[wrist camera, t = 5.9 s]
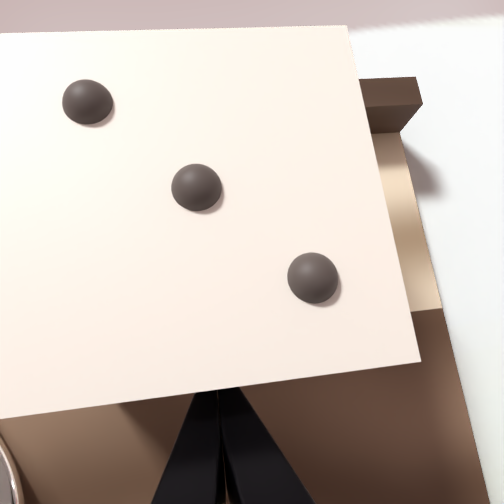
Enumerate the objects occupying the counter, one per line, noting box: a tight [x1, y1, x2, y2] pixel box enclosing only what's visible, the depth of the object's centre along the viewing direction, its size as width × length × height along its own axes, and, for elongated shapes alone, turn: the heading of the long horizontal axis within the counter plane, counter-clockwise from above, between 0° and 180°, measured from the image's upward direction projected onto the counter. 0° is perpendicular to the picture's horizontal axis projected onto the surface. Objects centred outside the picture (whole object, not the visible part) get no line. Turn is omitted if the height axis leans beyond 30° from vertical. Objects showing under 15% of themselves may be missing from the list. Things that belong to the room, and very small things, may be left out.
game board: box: [0, 77, 490, 504], centre depth 14 cm, size 20×18×3 cm
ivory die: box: [0, 25, 421, 419], centre depth 11 cm, size 8×8×8 cm
